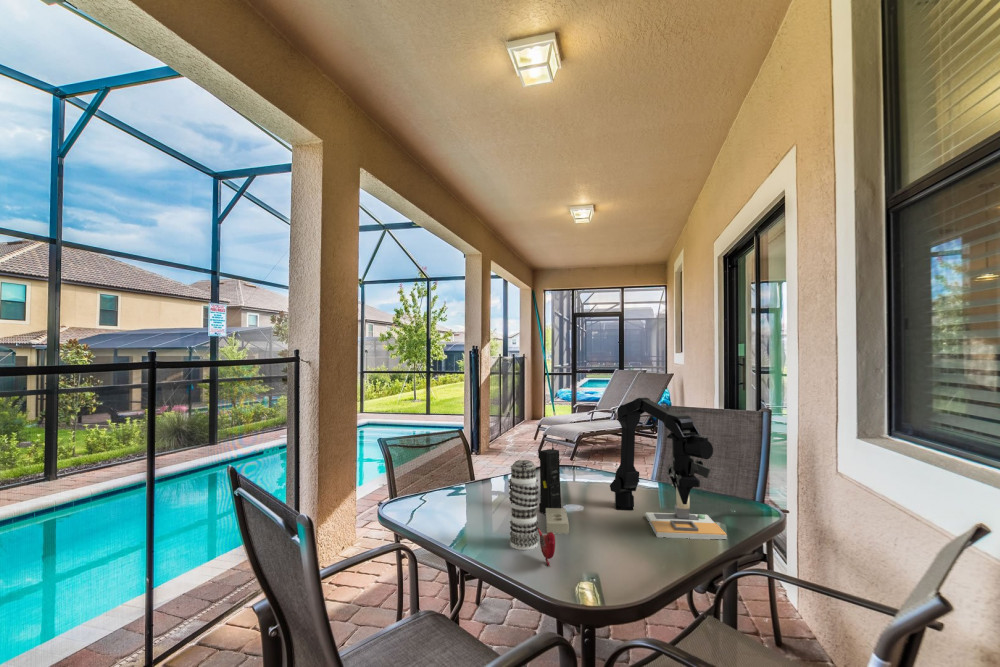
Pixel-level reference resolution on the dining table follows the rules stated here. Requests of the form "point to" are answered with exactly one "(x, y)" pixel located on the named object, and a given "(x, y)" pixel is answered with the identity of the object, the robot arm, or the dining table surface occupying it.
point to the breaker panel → (685, 526)
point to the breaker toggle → (681, 512)
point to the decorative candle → (523, 505)
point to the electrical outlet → (557, 520)
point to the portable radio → (549, 479)
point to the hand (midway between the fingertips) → (683, 502)
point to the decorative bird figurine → (547, 545)
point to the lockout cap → (679, 501)
